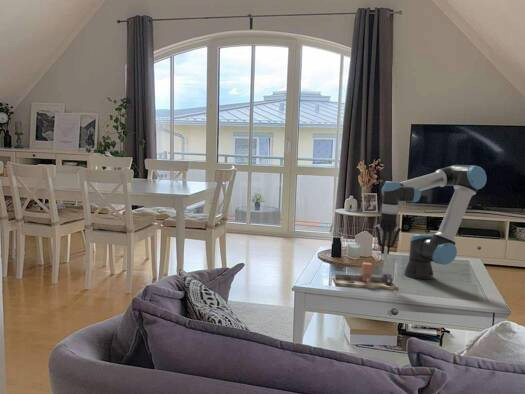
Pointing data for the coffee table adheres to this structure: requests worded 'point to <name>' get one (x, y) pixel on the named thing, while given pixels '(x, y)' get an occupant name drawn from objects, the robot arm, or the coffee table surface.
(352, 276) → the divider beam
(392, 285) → the bolt board
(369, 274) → the sliding head
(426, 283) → the coffee table surface
